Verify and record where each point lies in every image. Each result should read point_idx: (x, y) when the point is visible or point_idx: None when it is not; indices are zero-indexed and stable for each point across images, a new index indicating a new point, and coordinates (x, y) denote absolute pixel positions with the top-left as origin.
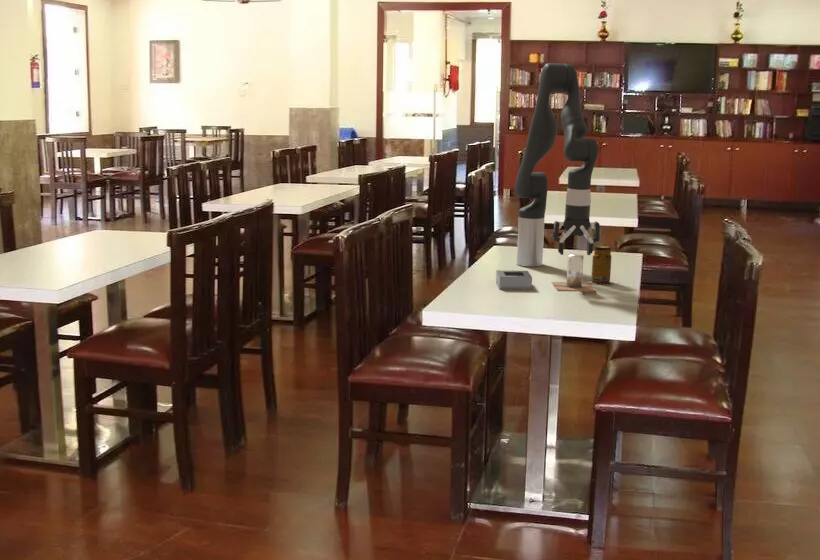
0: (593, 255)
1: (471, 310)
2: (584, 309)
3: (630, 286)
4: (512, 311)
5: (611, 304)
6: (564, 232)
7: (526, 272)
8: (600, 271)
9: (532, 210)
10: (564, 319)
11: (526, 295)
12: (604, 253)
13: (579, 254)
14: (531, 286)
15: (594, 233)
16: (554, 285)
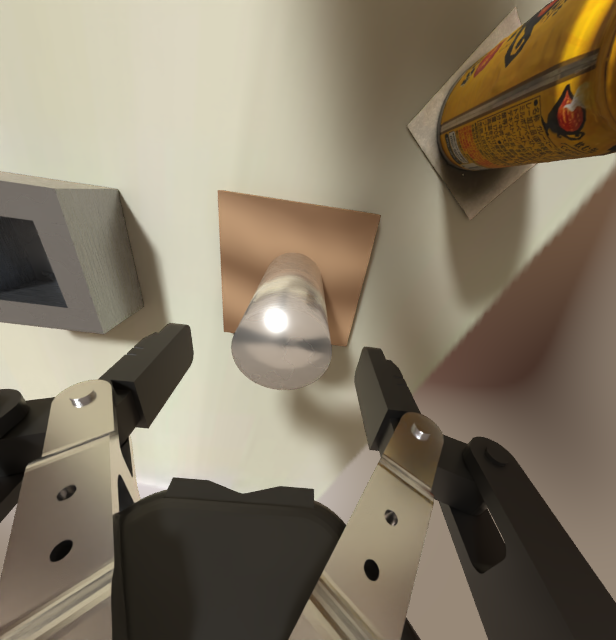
0: (573, 34)
1: None
2: (262, 448)
3: (545, 229)
4: None
5: (336, 423)
6: (48, 508)
7: (58, 234)
8: (490, 159)
9: None
10: None
11: (131, 333)
12: None
13: (313, 336)
14: (128, 316)
15: (506, 537)
16: (222, 261)
